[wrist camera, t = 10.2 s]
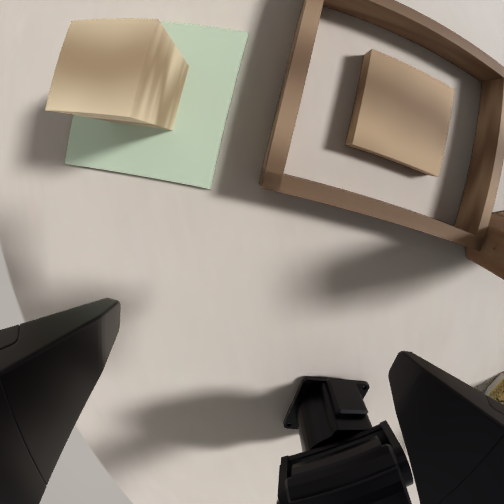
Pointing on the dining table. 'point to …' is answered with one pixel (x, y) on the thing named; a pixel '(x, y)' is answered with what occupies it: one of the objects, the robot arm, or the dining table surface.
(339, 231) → the dining table surface
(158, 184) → the dining table surface
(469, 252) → the wooden block structure
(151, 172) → the green mat
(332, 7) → the wooden rectangular frame
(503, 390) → the yellow green glass cup
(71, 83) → the beech block
